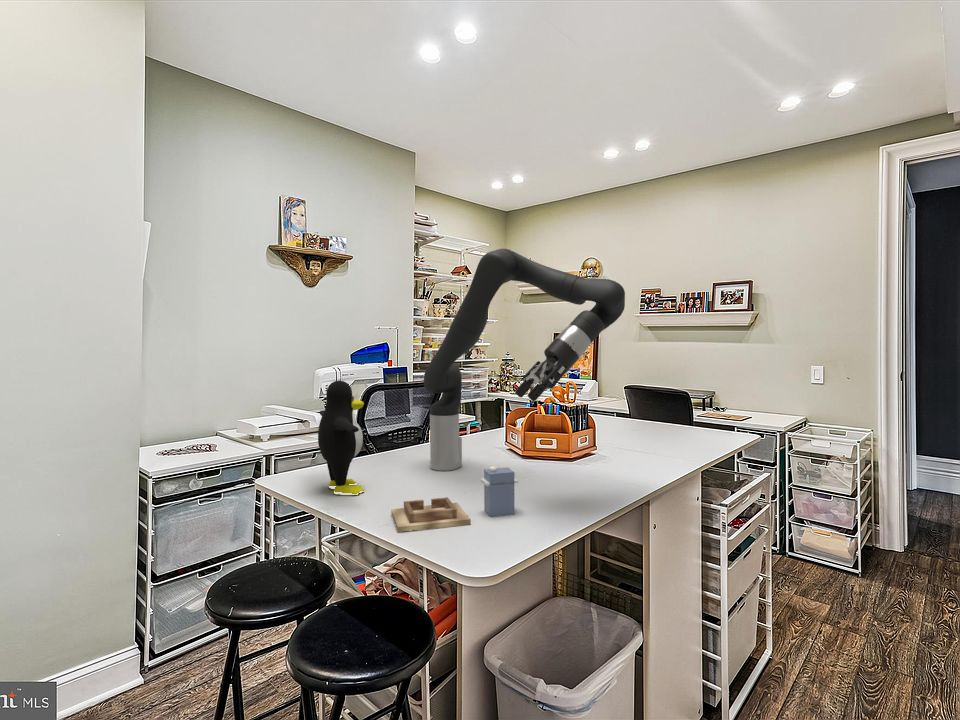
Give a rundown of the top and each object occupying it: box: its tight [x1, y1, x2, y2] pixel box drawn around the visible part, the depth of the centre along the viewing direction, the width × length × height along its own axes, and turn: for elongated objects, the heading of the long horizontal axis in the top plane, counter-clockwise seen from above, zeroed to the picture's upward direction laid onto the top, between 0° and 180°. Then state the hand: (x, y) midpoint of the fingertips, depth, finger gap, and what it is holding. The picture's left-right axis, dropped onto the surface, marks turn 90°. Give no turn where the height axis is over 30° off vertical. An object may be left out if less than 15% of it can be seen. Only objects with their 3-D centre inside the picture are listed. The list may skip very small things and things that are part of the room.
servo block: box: [480, 465, 519, 518], centre depth 120 cm, size 8×4×11 cm, turn 106°
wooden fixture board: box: [390, 497, 472, 533], centre depth 116 cm, size 16×12×3 cm
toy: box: [317, 380, 365, 494], centre depth 139 cm, size 37×12×30 cm, turn 30°
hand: (523, 396), depth 121 cm, fingers open, 8 cm apart
